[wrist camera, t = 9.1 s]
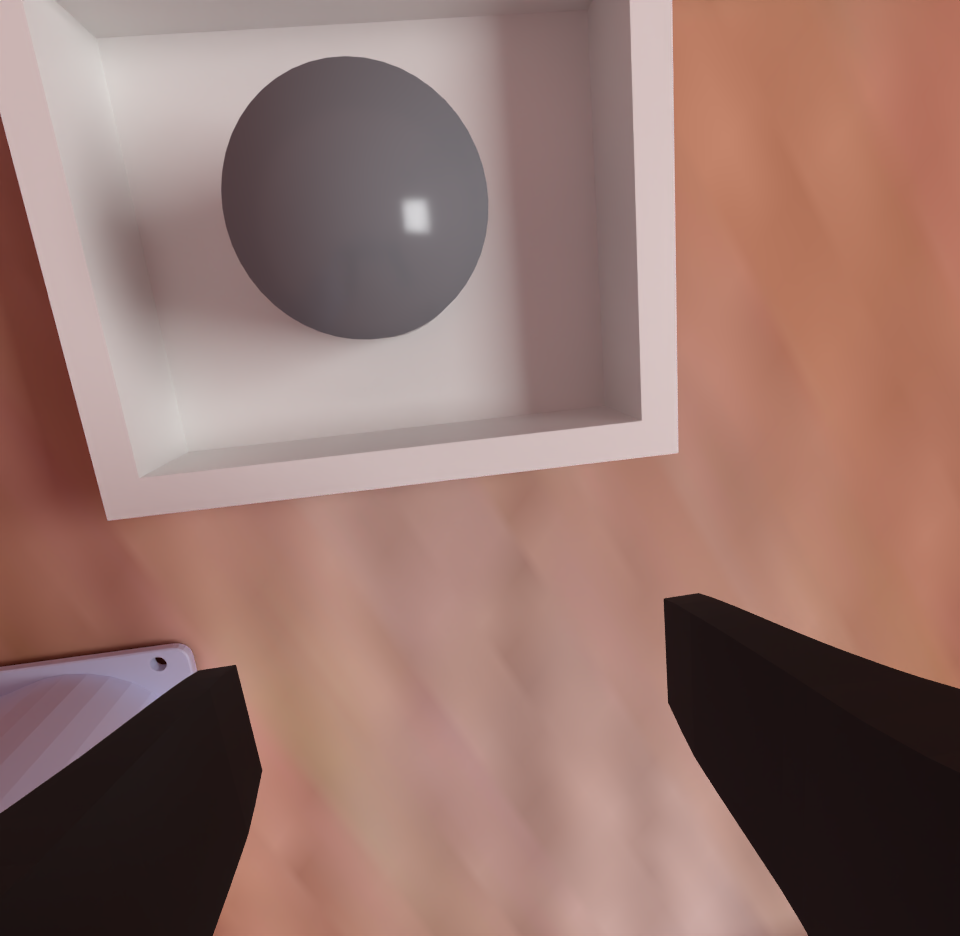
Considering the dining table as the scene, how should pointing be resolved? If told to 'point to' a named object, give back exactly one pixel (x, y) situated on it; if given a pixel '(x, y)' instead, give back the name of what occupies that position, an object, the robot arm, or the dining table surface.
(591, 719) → the dining table surface
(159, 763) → the robot arm
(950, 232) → the dining table surface
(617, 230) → the white tub
